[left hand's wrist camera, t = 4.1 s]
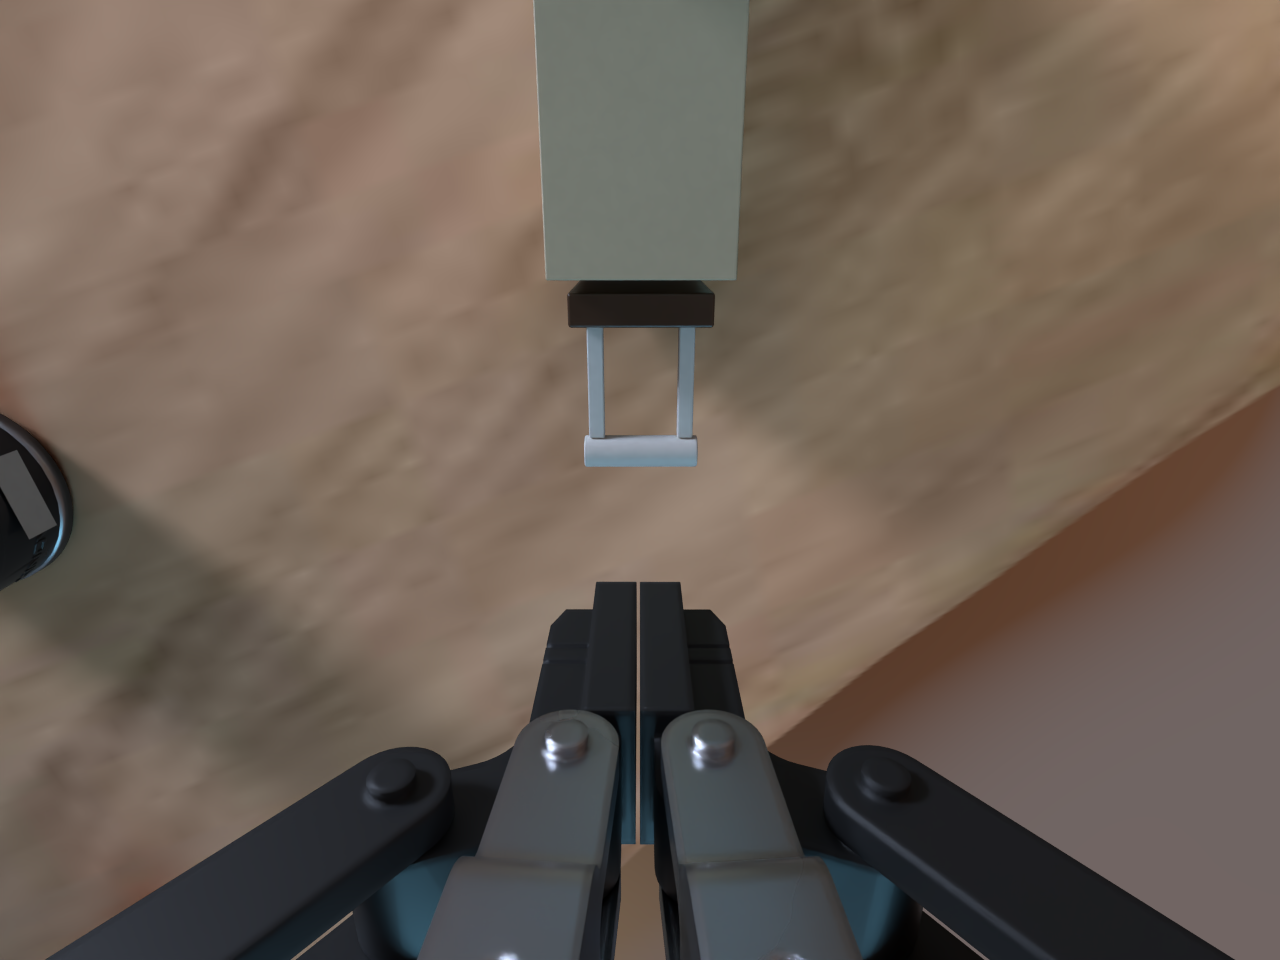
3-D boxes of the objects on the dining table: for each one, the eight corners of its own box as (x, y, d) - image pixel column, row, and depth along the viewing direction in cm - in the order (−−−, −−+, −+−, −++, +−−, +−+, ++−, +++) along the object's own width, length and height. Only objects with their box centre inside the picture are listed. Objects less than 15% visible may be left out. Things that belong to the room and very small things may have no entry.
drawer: (696, 437, 32) (708, 482, 27) (584, 437, 32) (573, 482, 27) (714, -166, 25) (735, -277, 19) (567, -166, 25) (546, -277, 19)
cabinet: (713, 265, 31) (737, 280, 23) (567, 266, 31) (545, 280, 23) (732, -256, 25) (771, -457, 17) (549, -257, 24) (511, -457, 17)
